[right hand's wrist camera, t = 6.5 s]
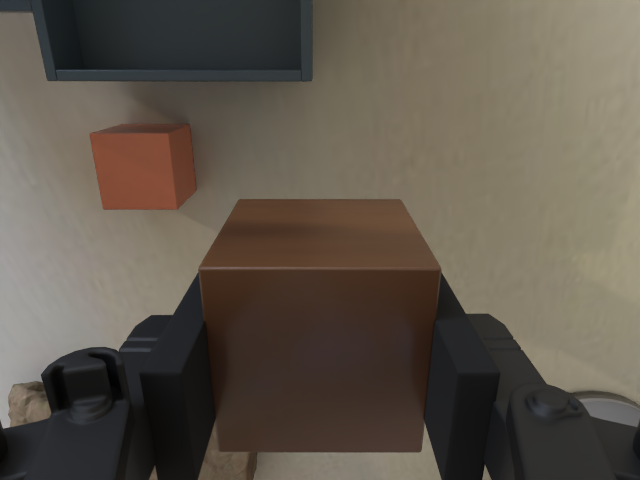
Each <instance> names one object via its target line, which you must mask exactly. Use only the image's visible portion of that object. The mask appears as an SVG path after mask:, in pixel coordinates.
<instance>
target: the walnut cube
mask: <svg viewBox="0 0 640 480" xmlns="http://www.w3.org/2000/svg"><path fill="white" fill-rule="evenodd" d="M198 271H199V281H200V290H201V299H202V308H203V317H204V321H205V327H206V336H207V345H208V354H209V364H210V373H211V382H212V391H213V401H214V410H215V419H216V420H215V428H216V438H217V447H218V451H219V452H421V450H422V442H423V433H424V424H425V421H424V416H425V407H426V397H427V388H428V379H429V370H430V360H431V351H432V342H433V333H434V323H435V320H436V315H437V305H438V296H439V287H440V278H441V267H440V265H439V264H438V262H437V260H436V259H435V257H434V255H433V253H432V252H431V250H430V248H429V247H428V245H427V243H426V242H425V240H424V238H423V237H422V235H421V233H420V231H419V230H418V228H417V226H416V225H415V223H414V221H413V220H412V218H411V216H410V214H409V213H408V211H407V209H406V208H405V206H404V204H403V203H402V201H401V200H399V199H240V200H238V202H237V204H236V206H235V207H234V209H233V211H232V212H231V214H230V216H229V217H228V219H227V221H226V222H225V224H224V226H223V228H222V229H221V231H220V233H219V234H218V236H217V238H216V239H215V241H214V243H213V244H212V246H211V248H210V249H209V251H208V253H207V255H206V256H205V258H204V260H203V261H202V263H201V265H200V266H199V269H198Z"/></svg>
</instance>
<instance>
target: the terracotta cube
mask: <svg viewBox="0 0 640 480" xmlns="http://www.w3.org/2000/svg"><path fill="white" fill-rule="evenodd" d="M90 139H91V144H92V150H93V156H94V161H95V167H96V172H97V178H98V183H99V189H100V194H101V200H102V205H103V209H178V208H179V207H180V206H181V205H182V204H183V203H184V202H185V201H186V200H187V199H188V198H189V197H190V196H191V195H192V194H193V193H194V192H195V191H196V180H195V170H194V161H193V151H192V141H191V131H190V124H121V125H118V126H114V127H111V128H107V129H104V130H100V131H97V132H93V133H90Z"/></svg>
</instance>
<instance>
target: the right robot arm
mask: <svg viewBox="0 0 640 480" xmlns="http://www.w3.org/2000/svg"><path fill="white" fill-rule="evenodd" d="M41 377H42V381H43V384H44V388H45V392H46V396H47V399H48V403H49V407H50V410H51V415H50V417H49V418H47V419H44V420H40V421H37V422H32V423H27V424H23V425H18V426H14V427H9V428H5V429H3V428H2V424H1V421H0V480H149V478H150V476H151V474H152V471H153V469H154V466H155V468H156V473H157V479H158V480H198V478H199V474H200V471H201V467H202V464H203V461H204V457H205V454H206V450H207V447H208V444H209V440H210V437H211V433H212V430H213V427H214V423H215V420H216V419H215V410H214V401H213V391H212V382H211V373H210V364H209V354H208V345H207V336H206V327H205V321H204V317H203V308H202V299H201V290H200V281H199V272H198V274H197V275H196V277H195V279H194V280H193V282H192V284H191V286H190V287H189V289H188V291H187V292H186V294H185V296H184V297H183V299H182V301H181V302H180V304H179V306H178V308H177V309H176V311H175V313H174V314H173V315H151V316H150V317H148V318H147V319H145V320H144V321H142V322H141V323H139V324H138V325H137V326H135V328H134V329H133V331H132V332H131V333H130V335H129V336H128V338H127V341H125V342H124V343H123V345H122V346H121V347H120V349H119V352H118V351H117V350H115V349H111V348H107V347H93V348H87V349H82V350H78V351H75V352H72V353H70V354H67V355H65V356H63V357H60V358H59V359H57V360H56V361H55V362H53V363H52V364H50V365H49V366H48V367H47V368H46V369H45V371H44V372H43V373H42V374H41ZM424 421H425V424H426V428H427V431H428V435H429V438H430V441H431V445H432V448H433V452H434V455H435V458H436V462H437V465H438V468H439V472H440V475H441V479H442V480H482V477H483V471H484V466H485V465H486V467H487V470H488V472H489V475H490V477H491V479H492V480H640V406H639V405H638V404H636V403H635V402H633V401H631V400H630V399H627V398H625V397H623V396H620V395H616V394H612V393H606V392H594V391H591V392H578V393H572V394H570V393H568V392H566V391H564V390H562V389H560V388H557V387H555V386H551V385H547V384H546V382H545V381H544V380H543V378H542V377H541V375H540V374H539V373H538V371H537V370H536V368H535V367H534V366H533V364H532V363H531V361H530V360H529V359H528V357H527V356H526V354H525V353H524V352H523V350H521V347H520V346H519V345H518V343H517V342H516V340H513V336H512V335H511V333H510V332H509V331H508V329H507V328H506V326H505V325H504V324H503V323H501V322H500V321H498V320H497V319H495V318H494V317H492V316H491V315H489V314H466V313H465V312H464V310H463V308H462V307H461V305H460V303H459V301H458V300H457V298H456V296H455V295H454V293H453V291H452V290H451V288H450V286H449V284H448V283H447V281H446V279H445V278H444V276H443V274H442V273H441V278H440V287H439V296H438V305H437V315H436V320H435V323H434V333H433V342H432V351H431V360H430V370H429V379H428V388H427V397H426V407H425V416H424Z"/></svg>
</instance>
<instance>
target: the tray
mask: <svg viewBox="0 0 640 480" xmlns="http://www.w3.org/2000/svg"><path fill="white" fill-rule="evenodd" d="M0 12H33V15H34V20H35V24H36V29H37V34H38V39H39V43H40V48H41V53H42V58H43V62H44V67H45V72H46V77H47V80H48V81H312V79H313V0H0Z"/></svg>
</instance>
